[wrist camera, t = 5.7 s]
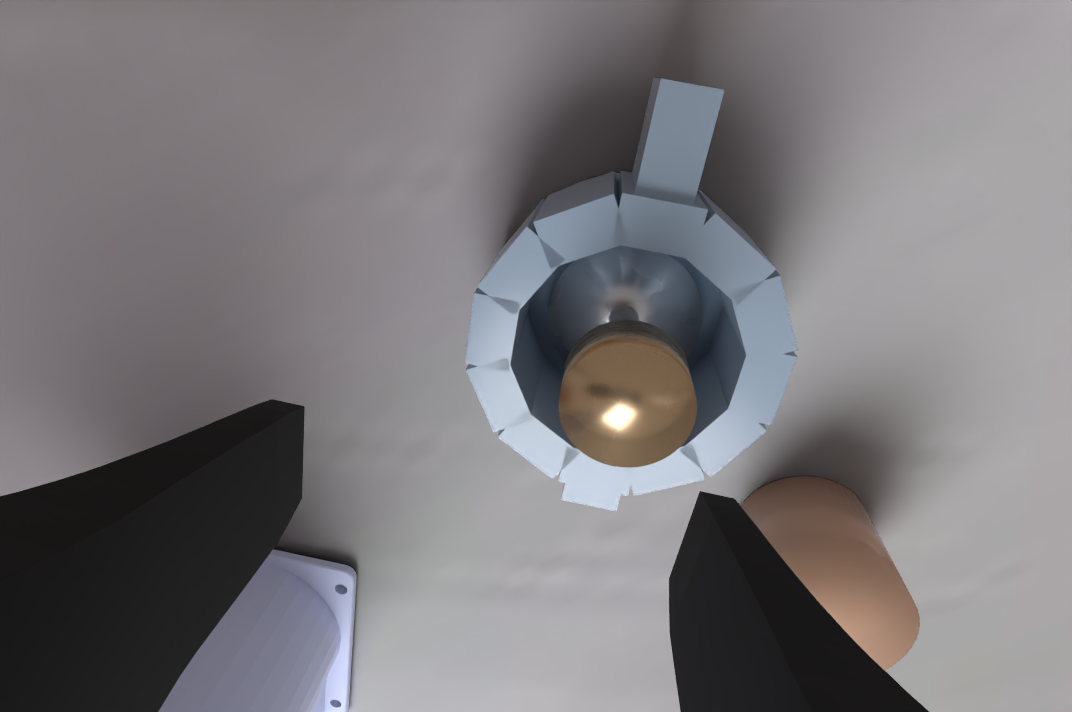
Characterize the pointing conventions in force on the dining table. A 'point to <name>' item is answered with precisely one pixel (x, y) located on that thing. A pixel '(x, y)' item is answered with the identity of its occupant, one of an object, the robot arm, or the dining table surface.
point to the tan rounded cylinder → (839, 561)
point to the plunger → (626, 354)
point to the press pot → (654, 225)
